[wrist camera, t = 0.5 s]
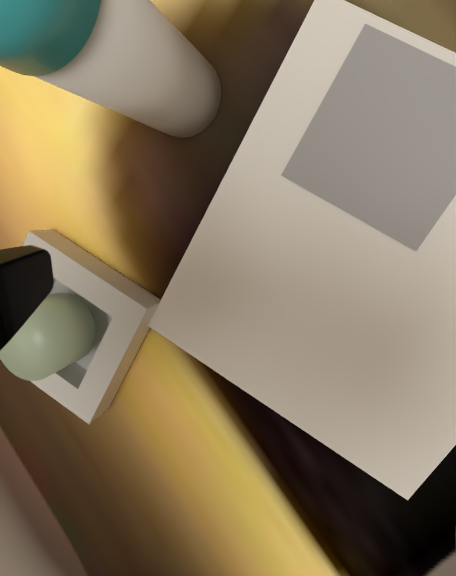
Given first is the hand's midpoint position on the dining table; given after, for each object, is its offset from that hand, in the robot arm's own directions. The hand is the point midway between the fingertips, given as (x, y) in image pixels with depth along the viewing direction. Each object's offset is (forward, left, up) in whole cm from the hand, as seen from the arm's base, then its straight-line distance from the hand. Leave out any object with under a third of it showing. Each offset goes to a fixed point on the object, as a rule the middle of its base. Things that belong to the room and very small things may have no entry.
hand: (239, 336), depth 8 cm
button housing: (-10, +10, -13) cm, 19 cm away
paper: (+2, -2, -13) cm, 13 cm away
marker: (+4, +10, -13) cm, 17 cm away
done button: (-10, +10, -12) cm, 18 cm away
